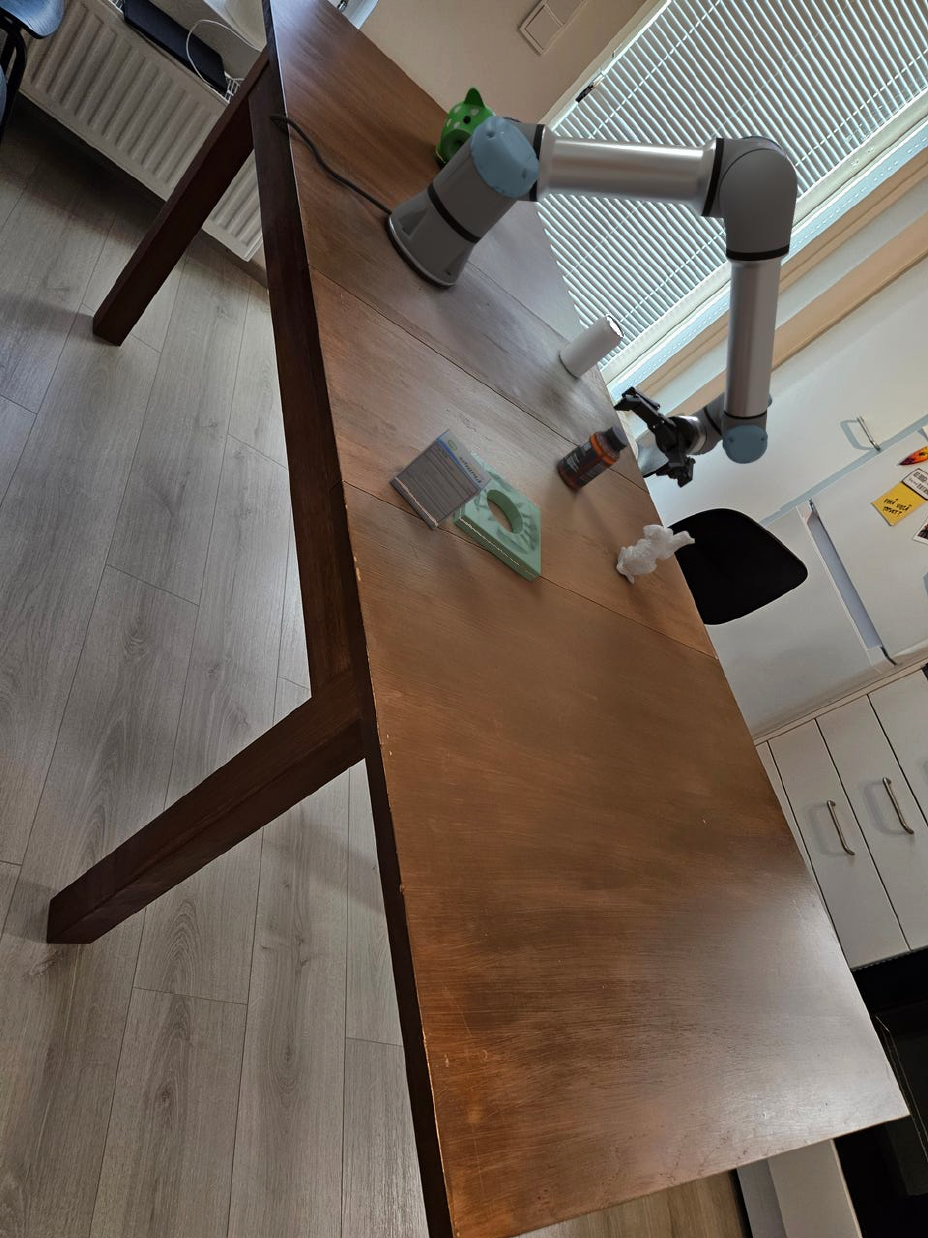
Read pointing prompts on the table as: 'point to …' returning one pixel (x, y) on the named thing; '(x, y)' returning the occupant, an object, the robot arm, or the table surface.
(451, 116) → the piggy bank
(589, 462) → the supplement bottle
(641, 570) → the koala figurine
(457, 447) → the medicine box
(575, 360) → the can
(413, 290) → the table surface
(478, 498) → the socket pad
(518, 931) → the table surface
